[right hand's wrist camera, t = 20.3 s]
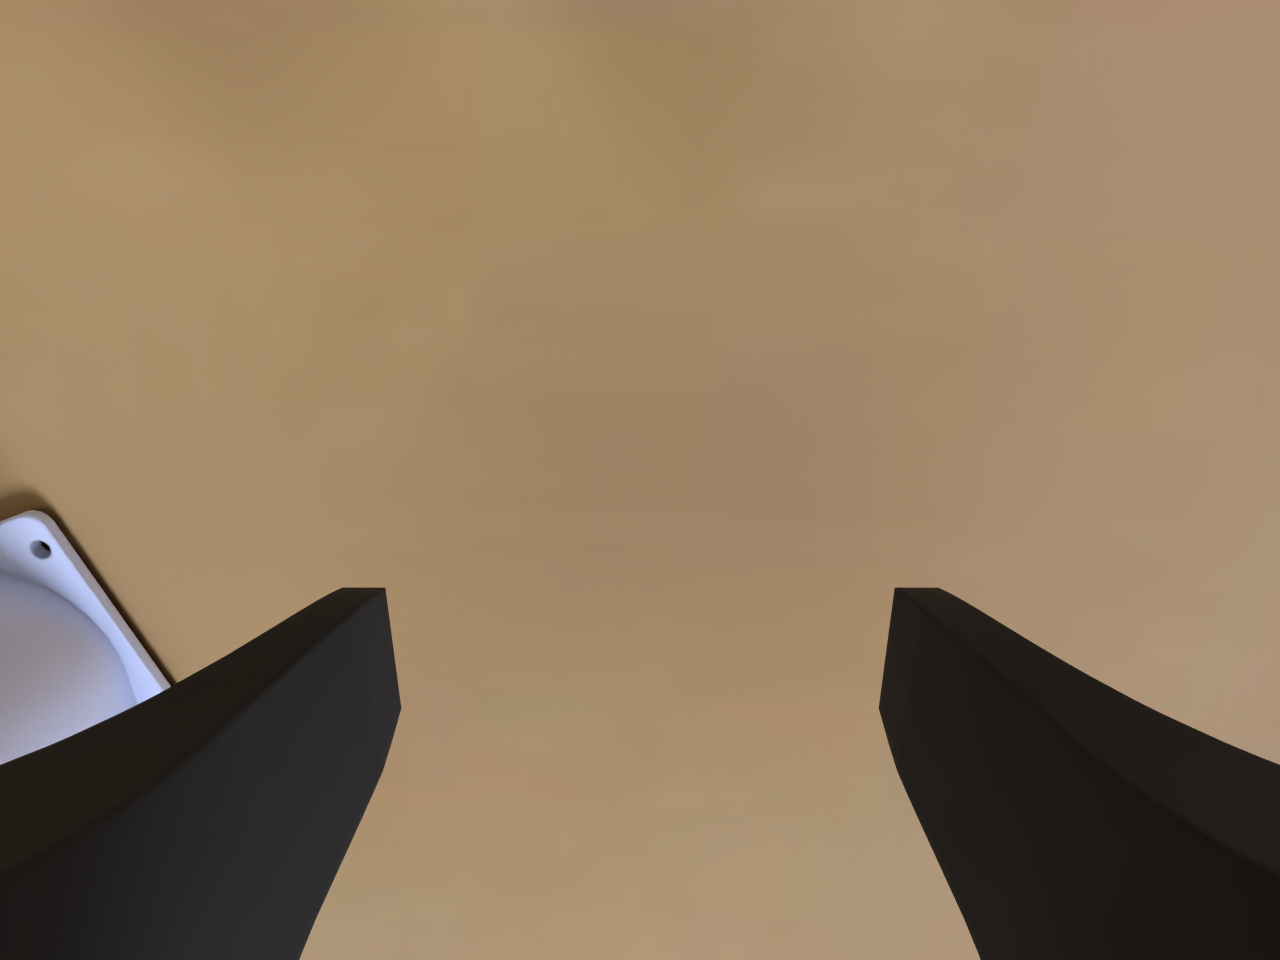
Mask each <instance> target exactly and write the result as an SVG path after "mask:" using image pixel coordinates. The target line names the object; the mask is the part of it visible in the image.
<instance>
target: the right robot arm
mask: <svg viewBox="0 0 1280 960" xmlns="http://www.w3.org/2000/svg"><path fill="white" fill-rule="evenodd" d="M41 541H42V542H45V543H46V544H47V545H48V546H49V547H50V550H51V551H48V550H46V549H45V548H44V547H43V546H42V544H41ZM400 711H401V703H400V696H399V688H398V681H397V673H396V666H395V658H394V650H393V643H392V635H391V628H390V620H389V613H388V605H387V598H386V590H385V588H341V589H339V590H336V591H334V592H332V593H330V594H328V595H326V596H325V597H323V598H321V599H319V600H318V601H316V602H314V603H312V604H311V605H309V606H307V607H306V608H304V609H302V610H301V611H299V612H297V613H296V614H294V615H292V616H291V617H289V618H288V619H286V620H284V621H283V622H281V623H279V624H278V625H276V626H274V627H273V628H271V629H270V630H268V631H266V632H265V633H263V634H261V635H260V636H258V637H256V638H255V639H253V640H251V641H250V642H248V643H247V644H245V645H243V646H242V647H240V648H238V649H237V650H235V651H233V652H232V653H230V654H228V655H227V656H225V657H223V658H221V659H220V660H218V661H216V662H214V663H212V664H211V665H209V666H207V667H205V668H203V669H202V670H200V671H198V672H196V673H194V674H193V675H191V676H189V677H187V678H186V679H184V680H182V681H180V682H178V683H177V684H175V685H173V686H170V684H169V683H168V681H167V680H166V679H165V677H164V676H163V674H162V673H161V672H160V670H159V669H158V667H157V666H156V665H155V663H154V662H153V660H152V659H151V657H150V656H149V655H148V653H147V652H146V650H145V649H144V648H143V646H142V645H141V643H140V642H139V640H138V639H137V638H136V636H135V635H134V633H133V632H132V631H131V629H130V628H129V626H128V625H127V624H126V622H125V621H124V619H123V618H122V616H121V615H120V614H119V612H118V611H117V609H116V608H115V607H114V605H113V604H112V602H111V601H110V600H109V598H108V597H107V595H106V594H105V592H104V591H103V590H102V588H101V587H100V585H99V584H98V583H97V581H96V580H95V578H94V577H93V575H92V574H91V573H90V571H89V570H88V568H87V567H86V566H85V564H84V563H83V561H82V560H81V559H80V557H79V556H78V554H77V553H76V551H75V550H74V549H73V547H72V546H71V544H70V543H69V542H68V540H67V539H66V537H65V536H64V535H63V533H62V532H61V530H60V529H59V527H58V526H57V525H56V523H55V522H54V521H53V520H52V519H51V518H50V517H49V516H48V515H47V514H45V513H43V512H41V511H36V510H30V511H25V512H23V513H20V514H18V515H15V516H12V517H10V518H7V519H5V520H2V521H0V960H299V959H300V956H301V954H302V951H303V949H304V946H305V944H306V941H307V939H308V936H309V934H310V932H311V929H312V927H313V924H314V922H315V919H316V917H317V915H318V913H319V911H320V908H321V906H322V904H323V902H324V900H325V898H326V895H327V893H328V891H329V889H330V887H331V884H332V882H333V880H334V878H335V876H336V873H337V871H338V869H339V867H340V865H341V863H342V860H343V858H344V856H345V854H346V852H347V849H348V847H349V845H350V843H351V841H352V839H353V836H354V834H355V832H356V830H357V828H358V825H359V823H360V821H361V819H362V817H363V814H364V812H365V810H366V808H367V805H368V803H369V801H370V799H371V797H372V794H373V792H374V790H375V788H376V785H377V783H378V781H379V778H380V776H381V774H382V771H383V768H384V765H385V762H386V759H387V755H388V752H389V749H390V746H391V743H392V739H393V735H394V732H395V728H396V725H397V721H398V718H399V714H400ZM879 711H880V714H881V718H882V721H883V725H884V728H885V732H886V735H887V739H888V743H889V746H890V749H891V752H892V755H893V759H894V762H895V765H896V768H897V771H898V774H899V776H900V778H901V781H902V783H903V785H904V788H905V790H906V792H907V794H908V797H909V799H910V801H911V803H912V805H913V808H914V810H915V812H916V814H917V817H918V819H919V821H920V823H921V825H922V828H923V830H924V832H925V834H926V836H927V839H928V841H929V843H930V845H931V847H932V849H933V852H934V854H935V856H936V858H937V860H938V863H939V865H940V867H941V869H942V871H943V873H944V876H945V878H946V880H947V882H948V884H949V887H950V889H951V891H952V893H953V895H954V898H955V900H956V902H957V904H958V906H959V908H960V911H961V913H962V915H963V917H964V919H965V922H966V924H967V927H968V929H969V932H970V934H971V936H972V939H973V941H974V944H975V946H976V949H977V951H978V954H979V956H980V959H981V960H1280V765H1279V764H1276V763H1273V762H1271V761H1268V760H1266V759H1263V758H1261V757H1258V756H1256V755H1253V754H1251V753H1249V752H1246V751H1244V750H1241V749H1239V748H1237V747H1234V746H1232V745H1229V744H1227V743H1225V742H1222V741H1220V740H1218V739H1216V738H1214V737H1211V736H1209V735H1207V734H1205V733H1203V732H1201V731H1198V730H1196V729H1194V728H1192V727H1190V726H1187V725H1185V724H1183V723H1181V722H1179V721H1176V720H1174V719H1172V718H1170V717H1168V716H1166V715H1163V714H1161V713H1159V712H1157V711H1155V710H1153V709H1151V708H1149V707H1147V706H1145V705H1143V704H1141V703H1139V702H1137V701H1135V700H1133V699H1132V698H1130V697H1128V696H1126V695H1124V694H1122V693H1120V692H1119V691H1117V690H1115V689H1113V688H1111V687H1109V686H1107V685H1105V684H1104V683H1102V682H1100V681H1098V680H1096V679H1094V678H1092V677H1091V676H1089V675H1087V674H1085V673H1083V672H1082V671H1080V670H1078V669H1076V668H1075V667H1073V666H1071V665H1069V664H1068V663H1066V662H1064V661H1063V660H1061V659H1059V658H1057V657H1056V656H1054V655H1052V654H1051V653H1049V652H1047V651H1046V650H1044V649H1042V648H1041V647H1039V646H1037V645H1036V644H1034V643H1032V642H1031V641H1029V640H1027V639H1026V638H1024V637H1022V636H1021V635H1019V634H1017V633H1016V632H1014V631H1013V630H1011V629H1009V628H1008V627H1006V626H1004V625H1003V624H1001V623H999V622H998V621H996V620H995V619H993V618H991V617H990V616H988V615H986V614H985V613H983V612H981V611H980V610H978V609H977V608H975V607H973V606H971V605H970V604H968V603H966V602H965V601H963V600H961V599H959V598H958V597H956V596H954V595H952V594H950V593H948V592H946V591H944V590H942V589H940V588H895V590H894V598H893V605H892V613H891V620H890V628H889V635H888V643H887V650H886V658H885V666H884V673H883V681H882V688H881V696H880V703H879Z"/></svg>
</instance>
